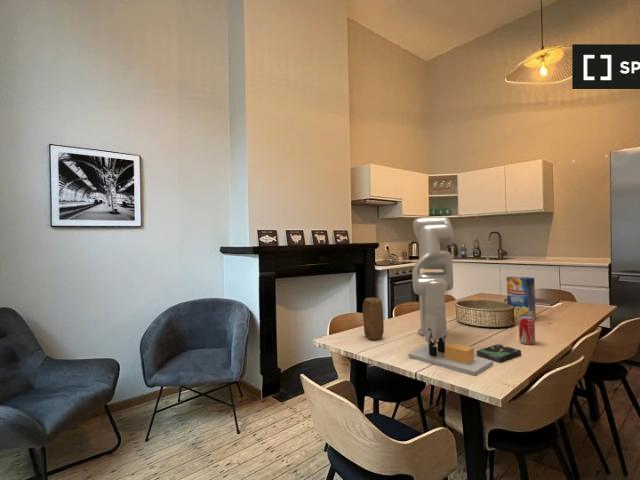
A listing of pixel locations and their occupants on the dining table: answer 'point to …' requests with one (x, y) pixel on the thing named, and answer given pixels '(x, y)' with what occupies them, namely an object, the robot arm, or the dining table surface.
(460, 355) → the block
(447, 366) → the board
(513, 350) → the disk drive
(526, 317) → the soda can
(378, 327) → the block
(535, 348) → the dining table surface
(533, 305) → the juice carton
